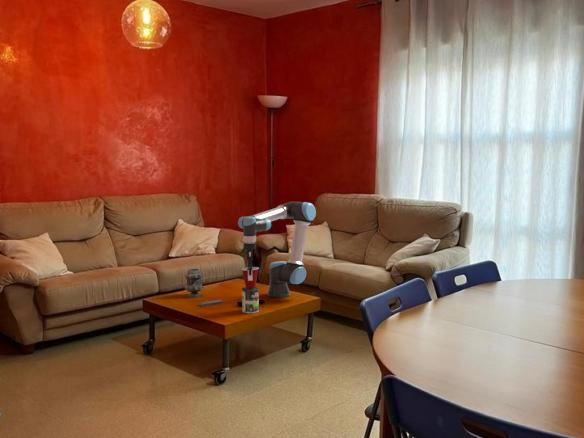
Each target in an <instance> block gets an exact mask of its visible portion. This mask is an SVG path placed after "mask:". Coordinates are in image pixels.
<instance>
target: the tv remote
mask: <svg viewBox="0 0 584 438" xmlns="http://www.w3.org/2000/svg"><path fill="white" fill-rule="evenodd" d="M220 304H224V300H222V299H217V300H209V301H203V302H198V306H200V307H207V306H208V307H209V306H214V305H220Z"/></svg>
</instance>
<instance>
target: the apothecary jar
mask: <svg viewBox="0 0 584 438" xmlns="http://www.w3.org/2000/svg"><path fill="white" fill-rule="evenodd" d="M203 276H204V275H203V272H201V269H200V268H188V269H187V272H185V274H184V277H185V278H186V285H185V287H184V289H185V291H186V292H189V293H188V294H187V295H186V297H187V298H199V297H201V296H202V293H200V291H203V288H204V286H203V284H202V277H203Z"/></svg>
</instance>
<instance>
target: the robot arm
mask: <svg viewBox="0 0 584 438" xmlns="http://www.w3.org/2000/svg"><path fill="white" fill-rule="evenodd" d="M316 216H317V211H316V207H315V205H314V204H313V203H311V202H307V201H304V202H303V201H289V202H286V203H282V204H279V205H277V206H276V207H275V208H272V209H268V210H266V211H261V212H259V213H256V214H254V215H253V214H252V215H249V216H241V217H239V219H238V220H237V221H238V222H237V225H238V227H239V228H240V229H243V237H242V239H243V250H247V251H246V257H247V258H246V259H247V267H248V269H247V270H248V281H253V275H252V267H253V266H254V263H253V259H254V251H253V250H256V249H257V243H256V242H257V232H263V231H264V232H265V231H268V230H270V229H271V227H272V222H273V221H277V220H279V219H280V220H286V219H293V222H294V228H293V229H294V230H293V234H292V235H293V236H292V242H291V247H290V252H289V253H290V254H289V259H288V260H279V261H273V262H272V261H271V263H270V264H269V286H268V289H267V292H266V294H267V297H269V298H272V299H273V298H275V299H282V298H284V299H285V298H288V297H289V296H290V295H291V292H290V289H289V287H288V284H293V285H299V284H302V283H303V282H304V281H305V280H306V276H307V271H306V268H305V267H304V266H305V264H304V262H303V258H304V252H305V247H306V246H305V245H306V240H307V234H308V228H309V226H310V225H311V224H312V221H314V220H315V218H316ZM249 267H250V268H249Z"/></svg>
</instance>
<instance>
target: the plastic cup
mask: <svg viewBox="0 0 584 438" xmlns="http://www.w3.org/2000/svg"><path fill="white" fill-rule="evenodd" d="M249 268H250V267H249ZM247 269H248V266H247V267H242V268H241V271H242V274H243V280H244V284H245V287H246V288H255V287H257V286H256V284H257V279H258V272H259V269H260V267H258V266H252V275H253V281H248V270H247Z"/></svg>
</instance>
